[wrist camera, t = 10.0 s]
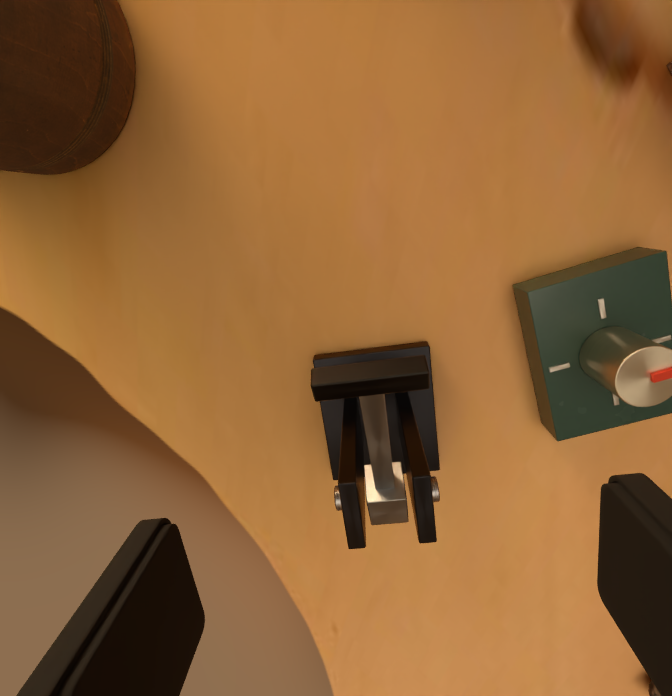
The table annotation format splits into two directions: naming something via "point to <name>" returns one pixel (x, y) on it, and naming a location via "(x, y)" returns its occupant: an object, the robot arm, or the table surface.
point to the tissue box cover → (670, 67)
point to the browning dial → (628, 366)
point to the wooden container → (62, 82)
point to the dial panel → (582, 321)
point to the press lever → (376, 422)
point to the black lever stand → (405, 442)
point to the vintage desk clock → (653, 690)
